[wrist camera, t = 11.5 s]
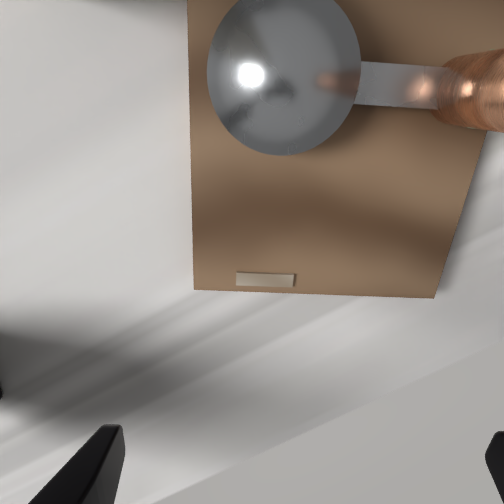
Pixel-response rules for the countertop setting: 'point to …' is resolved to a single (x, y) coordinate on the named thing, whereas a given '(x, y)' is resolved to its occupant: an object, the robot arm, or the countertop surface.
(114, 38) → the countertop surface
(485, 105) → the grey ball copper handle
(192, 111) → the stand
